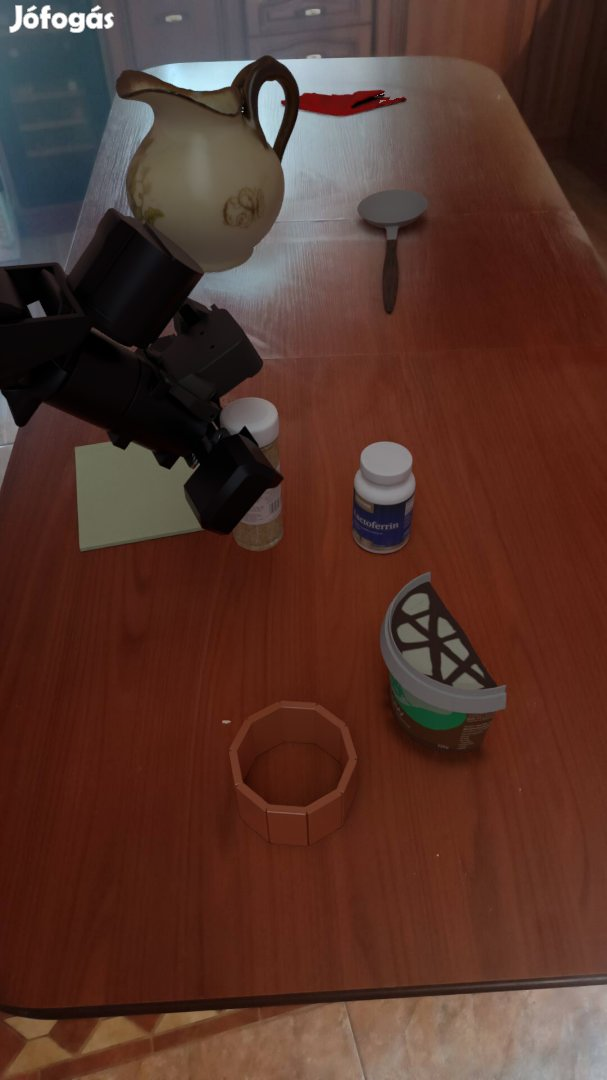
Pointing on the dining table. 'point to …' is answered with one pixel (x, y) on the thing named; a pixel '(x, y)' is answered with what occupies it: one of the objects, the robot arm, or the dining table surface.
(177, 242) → the pitcher
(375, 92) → the cloth
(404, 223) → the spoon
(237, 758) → the brown hollow polygonal ring
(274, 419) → the sprinkles bottle
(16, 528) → the dining table surface
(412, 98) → the dining table surface
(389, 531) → the pill bottle
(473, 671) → the food container
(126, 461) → the placemat
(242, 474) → the robot arm
